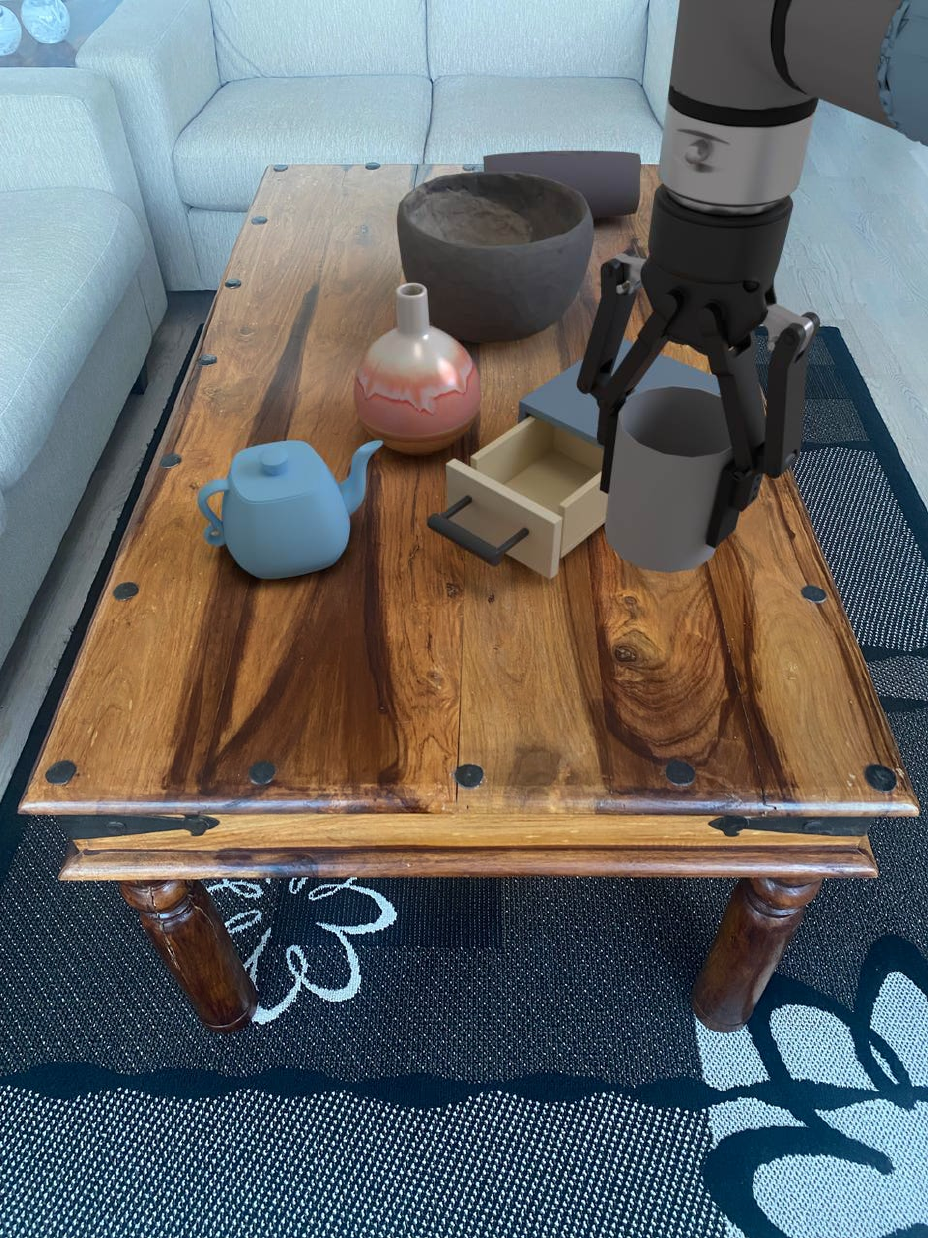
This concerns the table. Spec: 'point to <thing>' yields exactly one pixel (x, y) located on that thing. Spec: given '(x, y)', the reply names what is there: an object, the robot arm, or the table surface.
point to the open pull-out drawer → (525, 497)
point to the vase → (416, 382)
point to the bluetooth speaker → (582, 175)
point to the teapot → (285, 508)
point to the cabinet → (581, 411)
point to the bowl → (495, 252)
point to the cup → (666, 477)
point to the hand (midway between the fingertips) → (665, 508)
